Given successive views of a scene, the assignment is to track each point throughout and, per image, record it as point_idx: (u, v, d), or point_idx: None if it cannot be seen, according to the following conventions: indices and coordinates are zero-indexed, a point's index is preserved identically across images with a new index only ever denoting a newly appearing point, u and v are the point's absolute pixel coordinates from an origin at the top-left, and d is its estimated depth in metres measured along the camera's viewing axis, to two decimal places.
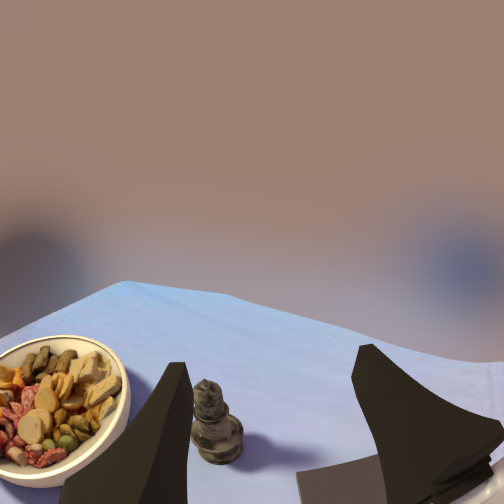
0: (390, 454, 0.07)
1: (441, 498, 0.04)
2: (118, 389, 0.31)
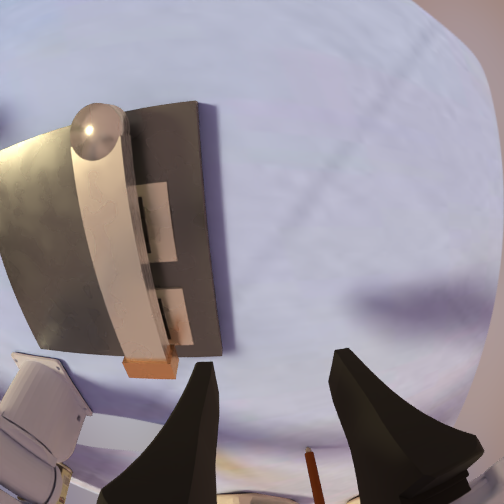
0: (363, 462, 0.07)
1: None
2: None
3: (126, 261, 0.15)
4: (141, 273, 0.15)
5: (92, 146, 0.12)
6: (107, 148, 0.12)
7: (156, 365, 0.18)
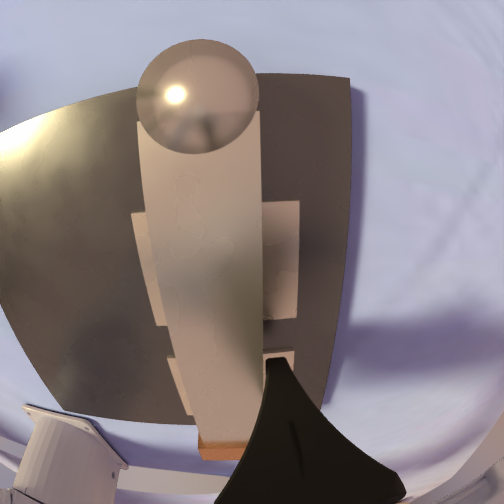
0: None
1: None
2: None
3: (238, 338, 0.09)
4: (261, 353, 0.09)
5: (191, 124, 0.06)
6: (227, 132, 0.06)
7: None
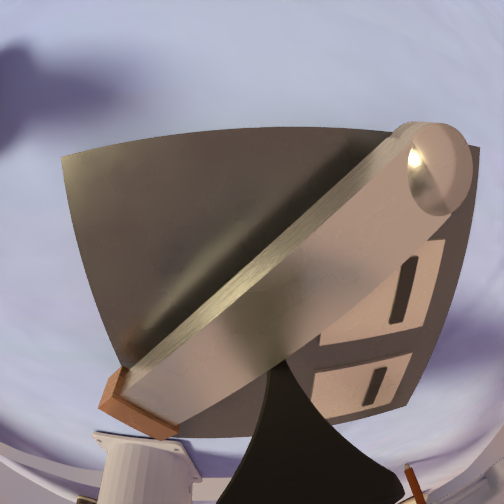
0: None
1: None
2: None
3: (291, 332, 0.09)
4: (287, 355, 0.10)
5: (428, 181, 0.07)
6: (433, 207, 0.08)
7: (157, 424, 0.11)
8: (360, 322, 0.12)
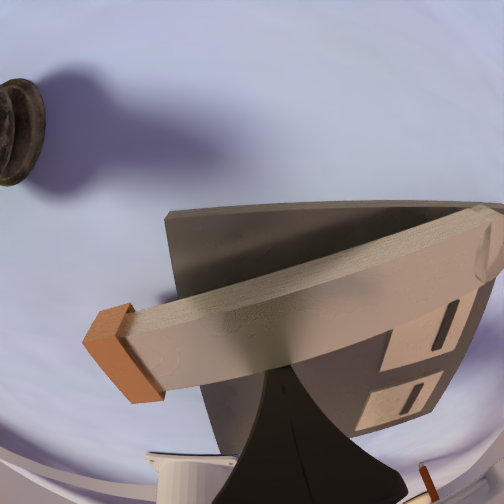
0: None
1: None
2: None
3: (351, 328, 0.09)
4: (332, 349, 0.10)
5: (485, 252, 0.08)
6: (479, 273, 0.09)
7: (146, 384, 0.09)
8: (411, 351, 0.14)
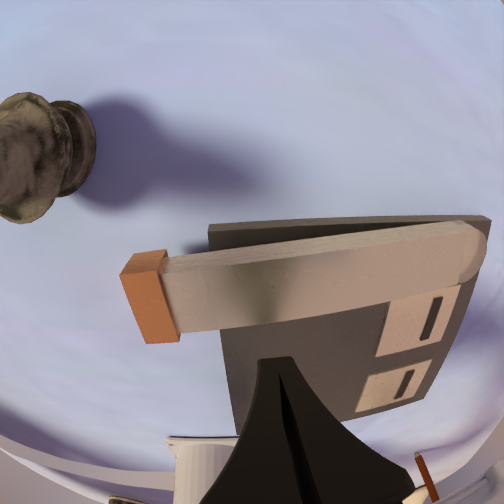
0: (296, 477, 0.07)
1: None
2: None
3: (349, 295, 0.12)
4: (331, 311, 0.12)
5: (460, 257, 0.11)
6: (454, 272, 0.12)
7: (168, 323, 0.12)
8: (402, 340, 0.17)
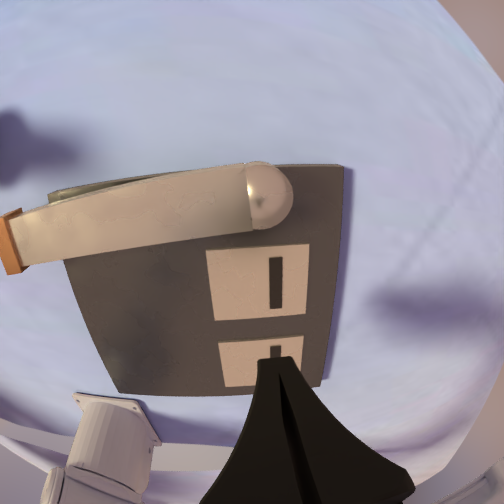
0: (296, 477, 0.07)
1: None
2: None
3: (116, 235, 0.13)
4: (107, 250, 0.13)
5: (243, 197, 0.13)
6: (240, 216, 0.13)
7: (14, 257, 0.13)
8: (243, 305, 0.18)
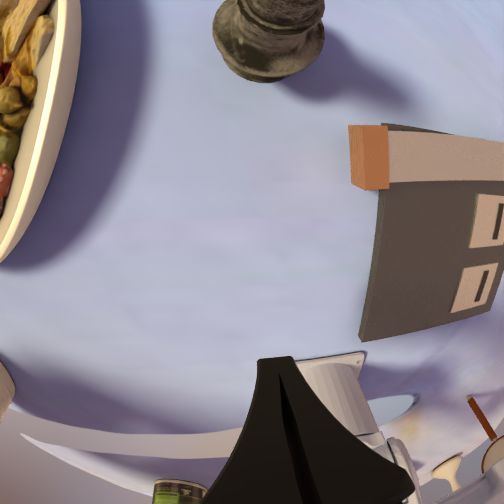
0: (296, 477, 0.07)
1: None
2: None
3: (472, 169, 0.15)
4: (465, 179, 0.15)
5: None
6: None
7: (385, 170, 0.14)
8: (483, 236, 0.20)
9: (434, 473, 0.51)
